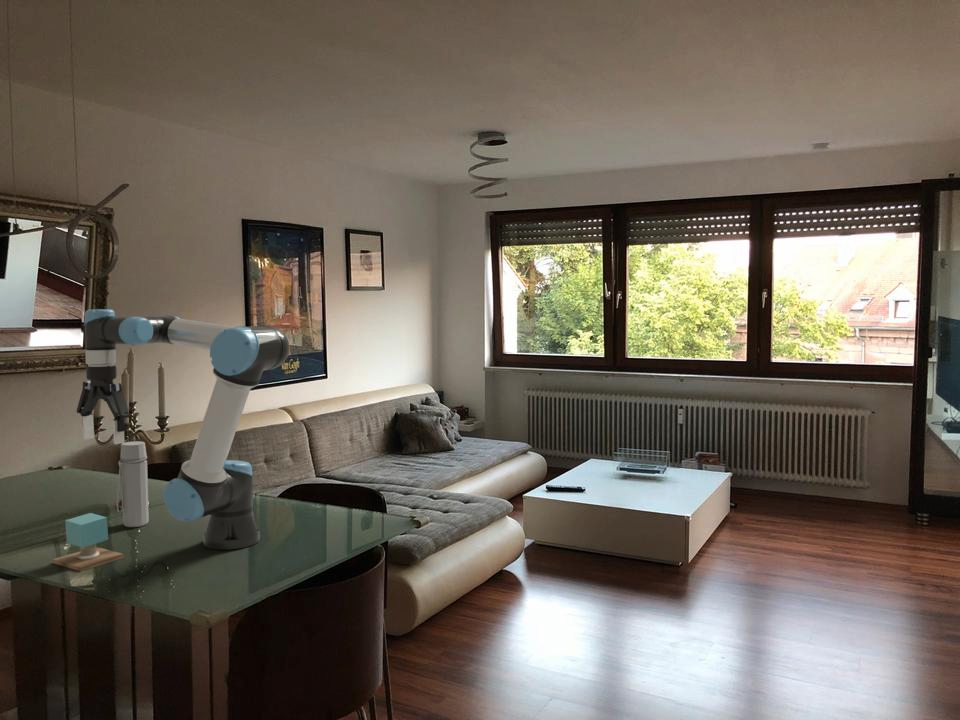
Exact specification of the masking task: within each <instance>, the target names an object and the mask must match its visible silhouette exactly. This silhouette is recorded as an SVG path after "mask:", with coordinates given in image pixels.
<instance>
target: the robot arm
mask: <svg viewBox="0 0 960 720" xmlns="http://www.w3.org/2000/svg"><path fill="white" fill-rule="evenodd" d="M83 326H84V340H85V341H84V343H85V350H84V351H85V365H87V366H86V367H85V370H86V371H85V375H86V377H85V378H86V380H88V381H83V382H82V390H81V394H80V397H79V400H78V404H77V408H76V413H77V414H80V416H81V417H82V420H81V421H82V438H83V440H85V441H86V440H91V439H94V438H95V431H94V430H95V429H94V428H95V427H94V426H95V425H94V413H93V411H94V409H95V408H96V405H97V403H98V402H99V400H103V401H104V402H105V403H106V404H107V406H108V409H109V410H110V412H111V414H112V416H113V419H112V425H113V426H112V427H113V429H112V430H113V431H112V432H113V444H114V445H118V444H122V443H125V429H126V428H125V426H126V425H125V420H126V419H128V418H130V417H131V414H130V413H131V412H130V411H129V408H128V405H127V401H126V399H125V395H124V392H123V388H122V384H121V383H120V382H118V383H114V380H115V379H117V366H116V365H115V364H116V363H117V356H116V355H117V354H116V352H117V351H116V349H117V347H116V345H128V346H141V345H145V344H160V343H161V344H167V345H176V346H183V347H189V348H194V349H202V350H207V351H209V357H210V358H211V360H210V363H211V365H212V366H213V367H212V368H213V369H212V374H213V375H214V376H215V378H216V381H215V384H214V386H213V389H212V392H211V395H210V399H209V401H208V405H207V408H206V412H205V415H204V416H203V419H202V423H201V426H200V429H199V431H198V432H199V433H198V435H197V438H196V441H195V445H194V447H193V450H192V453H191V456H190V458H189V460H186V461H184V462H183V463H181V467H180V470H179V473H178V476H177V478H172V479H170V481H169V482H167V484H166V485H165V486H164V490H163V501H164V504H165V506H166V508H167V511H168V512H169V514H170V515H171V516H172V517H174V518H175V519H176V520H178V521H180V522H183V523H184V522H185V523H186V522H193V521H197V520H200V519H201V518H205V517H207V516H209V517H208V520H207V525H206V530H205V532H204V534H203V546H204V547H205V548H208V549H211V550H219V551H221V550H222V551H223V550H224V551H225V550H228V551H229V550H237V549H242V548H248V547H250V546H253V545H255V544H257V543H258V542H259V541H260V540H261V538H260V537H261V534H260V533H261V532H260V529H259V527H258V523H257V521H256V518H255V516H254V508H253V506H254V504H253V503H254V499H253V498H254V495H253V493H254V491H253V490H254V489H253V488H254V487H253V486H254V485H253V478H254V474H253V468H252V465H251V463H249V462H248V461H244V460H235V459H234V460H233V459H232V460H231V459H230V460H229V459H227V458H228V456H229V453H230V451H231V447H232V444H233V441H234V438H235V434H236V431H238V429H237V428H238V427H239V423H240V420H241V418H242V414H243V412H244V409H245V405H246V402H247V400H248V397H249V394H250V392H251V390H252V389H253V388H255V387H257V386H259V383H260V381H261V378H262V374H263V372H264V371H269V370H274V369H276V368H278V367H280V366H282V365H283V364H284V362H286V360H287V358H288V356H289V354H290V341H289V339H288V337H287V335H286V334H285V333H284V332H283V331H282V330H281V329H279V328H277V327H275V326H272V325H261V326H259V325H258V326H257V325H252V326H251V325H250V326H244V325H243V326H242V325H241V326H240V325H239V326H233V325H232V326H231V325H227V324H226V325H225V324H221V323H219V324H218V323H211V322H207V321H206V322H205V321H199V320H191V319H186V318H185V319H184V318H180V317H179V316H174V315H163V316H162V315H161V316H116V314H115V311H114V309H103V308H102V309H101V308H100V309H87V310H85V312H84V323H83Z"/></svg>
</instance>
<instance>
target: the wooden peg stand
mask: <svg viewBox="0 0 960 720" xmlns="http://www.w3.org/2000/svg"><path fill="white" fill-rule="evenodd" d="M79 548H80V551H76V552H73V553H70V554H67V555H66V554H65V555H63V556H59V557H56V558H53V559H51V561H52V564H54V565H58V566H61V567H64V568H68V569H71V570H75V571H78V572H83V571H86V570H90V569H93V568H97V567H99V566H102V565H106V564H109V563H112V562H115V561H117V560H120V559H124V558H125V554H124V553H123V552H122V553H121V552H119V551H118V552H117V551H114V550H109V549H107V548H102V547H98V546H97V543H96V544H93V545H90V546H87V547H84V548H82V547H79Z"/></svg>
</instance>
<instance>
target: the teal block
mask: <svg viewBox="0 0 960 720" xmlns="http://www.w3.org/2000/svg"><path fill="white" fill-rule="evenodd" d="M108 529H109V527H108V517H107V516H103V515H99V514H95V513H93V512H89V513H85V514H82V515H79V516H76V517H72V518H68V519H66V520H65V537H66V540H65V541H66V544H70V545H73V546H74V547H75V546H76V547H79V548H80V547H82V548H84V547H87V546H90V545H93V544H96V545H97V544H99V543H102V542H105V541H107V540H109V530H108Z"/></svg>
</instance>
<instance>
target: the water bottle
mask: <svg viewBox="0 0 960 720" xmlns="http://www.w3.org/2000/svg"><path fill="white" fill-rule="evenodd" d="M120 444H121V445H120V459H119V460H118V462H117V463H118V467H119V469H118V470H119V471H118V481H117V495H116V503H115V504H116V509H117V512H118V513H122V524H123V525H124V526H125V528H140V527H144V526H146V525H147V524H149V522H150V520H149V518H150V516H149V515H150V514H149V487H148V486H149V484H148V483H149V481H148V480H149V479H148V460H147V459H148V456H147V448H146V443H145V442H144V441H137V440H136V441H126V442H124V443H120ZM120 492H121V493H120ZM119 495H121V496H120V497H121V509H120V510H119Z"/></svg>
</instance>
